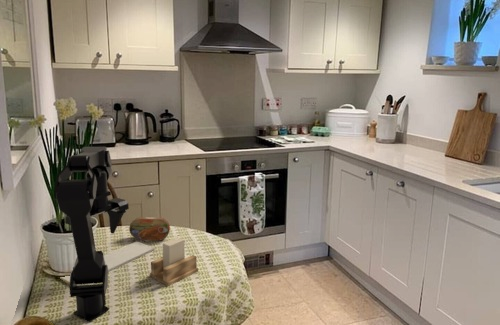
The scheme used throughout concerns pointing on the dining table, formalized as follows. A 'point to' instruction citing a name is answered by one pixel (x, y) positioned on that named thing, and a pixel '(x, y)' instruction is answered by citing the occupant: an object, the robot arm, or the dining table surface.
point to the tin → (149, 228)
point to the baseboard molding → (122, 256)
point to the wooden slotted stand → (173, 270)
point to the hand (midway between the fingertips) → (100, 238)
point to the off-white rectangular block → (173, 251)
